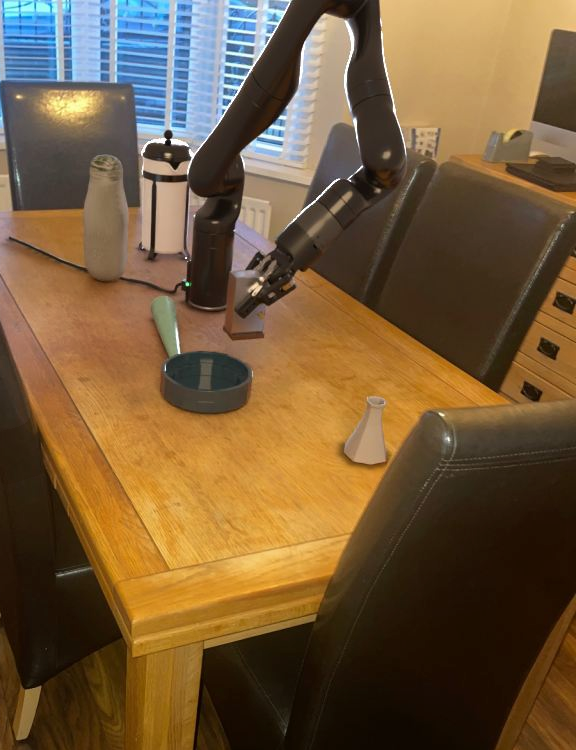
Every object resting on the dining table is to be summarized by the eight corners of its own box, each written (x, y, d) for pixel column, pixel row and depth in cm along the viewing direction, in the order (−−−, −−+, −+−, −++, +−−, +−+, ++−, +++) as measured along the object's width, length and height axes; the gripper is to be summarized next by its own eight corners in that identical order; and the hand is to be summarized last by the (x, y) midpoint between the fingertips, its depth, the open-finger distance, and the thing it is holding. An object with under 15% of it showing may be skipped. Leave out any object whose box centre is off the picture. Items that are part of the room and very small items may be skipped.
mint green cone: (166, 349, 146) (150, 295, 168) (165, 375, 150) (150, 320, 171) (194, 348, 147) (175, 295, 169) (192, 375, 151) (174, 319, 172)
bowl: (142, 395, 142) (142, 370, 140) (196, 367, 153) (197, 343, 150) (215, 426, 135) (217, 400, 132) (266, 394, 146) (269, 369, 143)
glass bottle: (78, 282, 187) (74, 156, 171) (98, 269, 195) (96, 148, 178) (115, 290, 184) (115, 162, 168) (134, 277, 192) (135, 154, 176)
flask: (338, 442, 133) (348, 389, 127) (379, 442, 134) (392, 390, 128) (348, 465, 127) (360, 411, 121) (392, 465, 128) (405, 411, 122)
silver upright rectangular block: (253, 327, 141) (260, 267, 135) (264, 338, 137) (271, 277, 131) (222, 329, 139) (227, 269, 133) (232, 341, 136) (238, 279, 129)
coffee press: (204, 252, 211) (212, 130, 193) (171, 266, 200) (177, 139, 182) (151, 238, 218) (155, 119, 200) (117, 252, 207) (117, 127, 189)
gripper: (279, 208, 134) (207, 281, 138) (315, 233, 124) (236, 312, 127) (303, 238, 139) (233, 308, 143) (339, 265, 128) (262, 340, 132)
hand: (235, 310), depth 135 cm, fingers closed on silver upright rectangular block, 3 cm apart
